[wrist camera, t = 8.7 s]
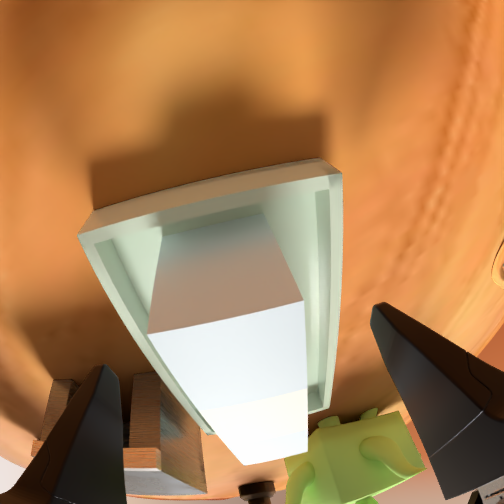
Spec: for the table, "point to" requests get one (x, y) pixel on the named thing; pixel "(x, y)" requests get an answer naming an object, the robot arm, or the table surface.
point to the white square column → (235, 335)
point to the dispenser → (147, 438)
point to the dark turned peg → (257, 492)
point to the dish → (221, 210)
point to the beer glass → (499, 268)
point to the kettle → (352, 460)
